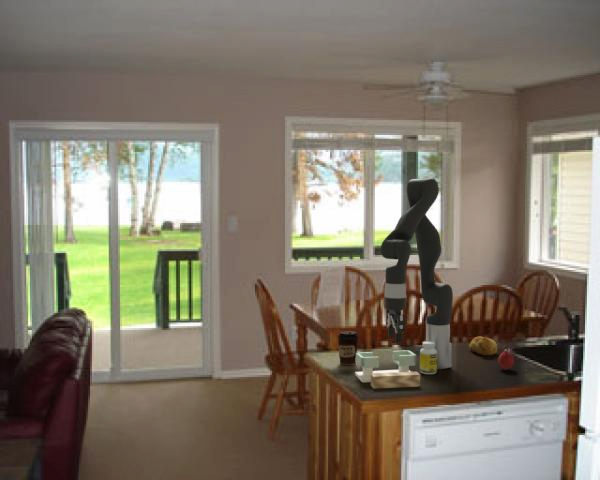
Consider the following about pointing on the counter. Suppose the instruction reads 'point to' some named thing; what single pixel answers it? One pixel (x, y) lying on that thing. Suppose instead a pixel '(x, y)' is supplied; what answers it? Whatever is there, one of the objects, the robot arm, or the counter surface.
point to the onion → (506, 360)
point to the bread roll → (483, 346)
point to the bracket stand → (370, 362)
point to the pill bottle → (428, 358)
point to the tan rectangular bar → (395, 379)
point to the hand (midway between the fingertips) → (394, 340)
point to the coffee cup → (347, 347)
